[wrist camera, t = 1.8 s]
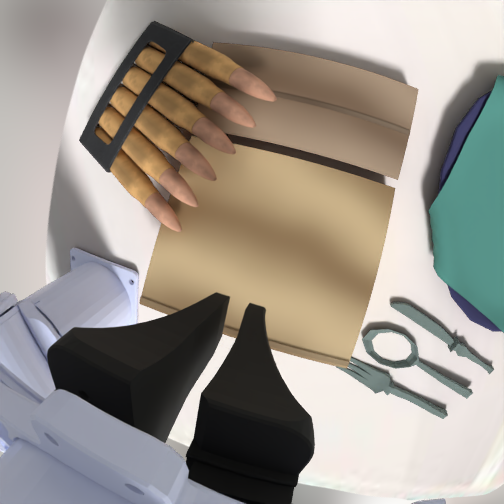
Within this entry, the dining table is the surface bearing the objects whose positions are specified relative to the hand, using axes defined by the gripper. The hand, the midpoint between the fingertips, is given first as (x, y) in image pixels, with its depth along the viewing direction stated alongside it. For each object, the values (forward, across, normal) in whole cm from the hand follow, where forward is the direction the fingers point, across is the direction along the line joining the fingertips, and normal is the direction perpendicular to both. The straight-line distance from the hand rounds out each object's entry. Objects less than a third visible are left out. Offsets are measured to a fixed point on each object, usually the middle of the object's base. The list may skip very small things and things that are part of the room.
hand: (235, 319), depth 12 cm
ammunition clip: (+8, +14, -10) cm, 19 cm away
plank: (+7, 0, -1) cm, 7 cm away
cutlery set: (+10, -18, -4) cm, 21 cm away
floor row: (+9, 0, -10) cm, 14 cm away
